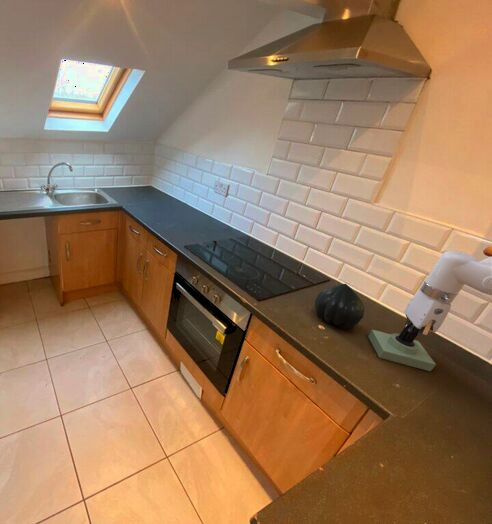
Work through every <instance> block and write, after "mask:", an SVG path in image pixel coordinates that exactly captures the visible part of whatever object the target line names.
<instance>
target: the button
mask: <svg viewBox="0 0 492 524" xmlns="http://www.w3.org/2000/svg"><path fill="white" fill-rule="evenodd" d="M396 340H397V341H399V342H400V343H402V344H404V345H406V346H409V347H413V345H414V342H412V343H410V342H406V341H402V340H401V339H400V338H399V336H397V338H396Z"/></svg>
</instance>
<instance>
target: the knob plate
mask: <svg viewBox="0 0 492 524" xmlns="http://www.w3.org/2000/svg"><path fill="white" fill-rule="evenodd" d="M399 335H400V333H387V332H383V331H380V330H375V329H371V330H370V331H369V333H368V334H367V337H368V339H369V341H370V342H371V345H372V347H373V348H374V350H375V352H376V354H377V356H378V358H380V359H383V360H386V361H391V362H394V363H397V364H401V365H405V366H409V367H413V368H415V369H416V368H417V369H420V370H424V371H427V372H432V370H433V369H435V367H436V366H437V364H436V363H435V361H434V360H433V359H432V357H431V356H430V355H429V353H428V352H427V350H426V349H425V348H424V346H423V345H422V344H421V343H420V341H419V340H415V339H414V341H413V342H414V345H413V347H409V346H406V345H404V344H402V343H400V342H399V341H397V340H396V338H397V336H399Z"/></svg>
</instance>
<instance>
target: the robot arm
mask: <svg viewBox="0 0 492 524" xmlns="http://www.w3.org/2000/svg"><path fill="white" fill-rule="evenodd" d="M465 285H466V286H468V287H470V288H471V289H474V290H475V291H478V292H479V293H483V294H485V295H488V296H492V256H489V257H487V258H484V259H482V260H480V261H479V259H478V258H477V257H475V256H474V255H471V254H469V253H466V252H462V251H459V250H446V251H444V252H443V253H442V254H441V255H440V257H439V258H438V259H437V261H436V263H435V265H434V266H433V268H432V269H431V271H430V272H429V274H428V275H427V277H426V278H425V280H424V281H423V283H422V285H421V286H420V288H419V289H418V290H417V292H416V293H415V294H414V295H413V297H412V298H411V299H410V300H409V302H408V304H407V305H406V307H405V308H404V313H405V318H406V321H405V324H404V327H403V329H402V331H401V332H400V333H399V334H400V335H399V338H400V339H401V340H402V341H406V342H410V343H412V342H413V341H414V340H415V339H417V336H418V335H421V336H425V337H427V336H428V335H429V332H431V333H437V332H438V331H439V329H440V328H441V326H442V325H443V323H444V322H445V320H446V318H447V317H448V315H449V312H450V310H451V307H452V303H453V302H454V300H455V299H456V297H457V296H458V295H459V293H460V292H461V290H462V289H463V288H464V286H465Z"/></svg>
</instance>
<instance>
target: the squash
mask: <svg viewBox="0 0 492 524" xmlns="http://www.w3.org/2000/svg"><path fill="white" fill-rule="evenodd" d="M314 308H315V314H316V316H317V317H318V319H320V320H322V321H324V322H326V323H327V324H333V325H335V326H337V327H338V328H341V329H343V330H350V329H352V328H354V327H355V326H356V325H357V324H359V323H360V321H362V319H363V318H364V315H365V312H366V311H365V304H364V302H363V301H362V299H361V298H360V297H359V296H358V294H357V293H356V292H355V291H354V289H352V287H351V286H349V284H347V283H342V284H338V285H334V286H331V287H328V288H325V289H323V290H322V291H320V292H319V293H318V295H317V296H316V297H315V301H314Z"/></svg>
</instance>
